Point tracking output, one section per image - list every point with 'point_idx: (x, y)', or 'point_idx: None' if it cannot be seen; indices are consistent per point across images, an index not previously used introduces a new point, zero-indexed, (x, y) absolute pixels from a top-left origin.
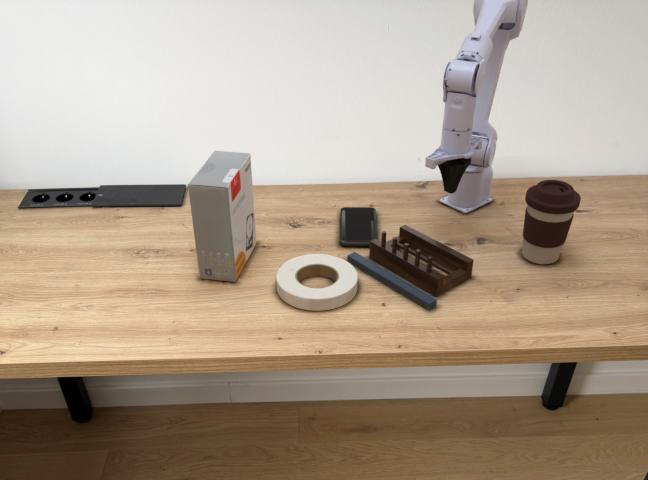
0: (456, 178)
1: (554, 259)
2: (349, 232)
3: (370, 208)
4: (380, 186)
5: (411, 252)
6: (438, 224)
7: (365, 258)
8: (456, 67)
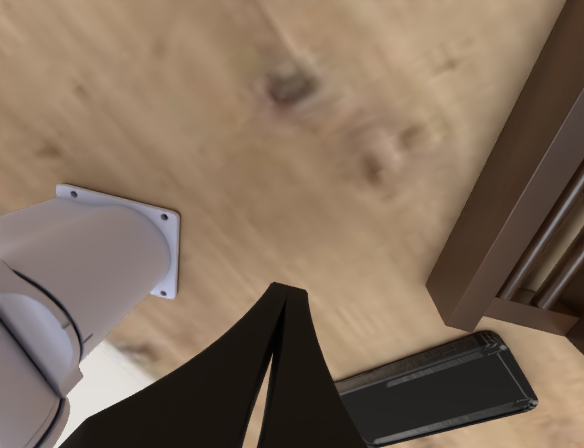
0: (294, 357)
1: None
2: (475, 404)
3: None
4: None
5: (552, 237)
6: (279, 249)
7: None
8: None
